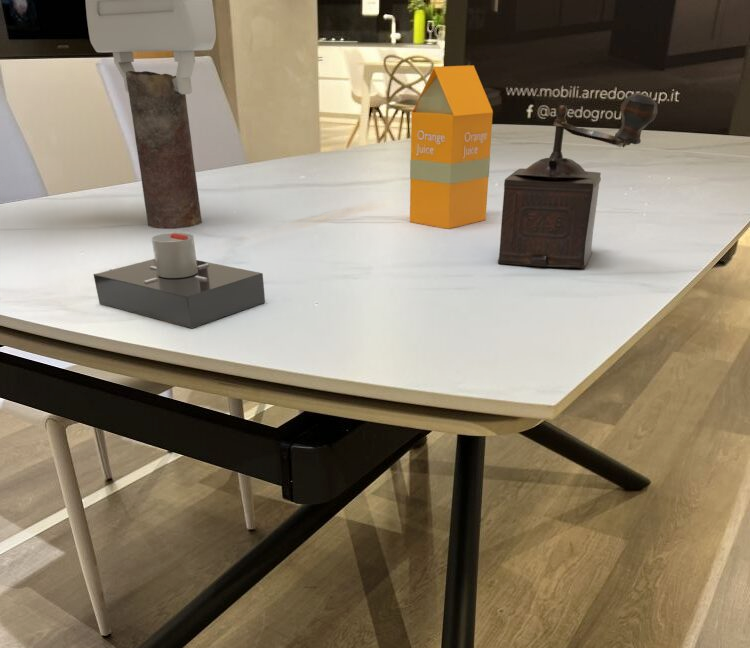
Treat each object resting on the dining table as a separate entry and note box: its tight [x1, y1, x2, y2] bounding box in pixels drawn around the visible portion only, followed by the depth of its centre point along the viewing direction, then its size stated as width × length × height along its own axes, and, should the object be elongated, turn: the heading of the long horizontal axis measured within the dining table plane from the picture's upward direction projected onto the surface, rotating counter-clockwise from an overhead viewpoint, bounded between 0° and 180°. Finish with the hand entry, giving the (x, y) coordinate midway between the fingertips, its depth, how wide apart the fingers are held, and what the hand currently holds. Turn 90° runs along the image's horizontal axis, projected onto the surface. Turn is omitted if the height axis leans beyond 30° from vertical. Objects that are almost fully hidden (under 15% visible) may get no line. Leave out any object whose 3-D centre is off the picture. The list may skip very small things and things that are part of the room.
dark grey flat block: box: [93, 258, 266, 329], centre depth 75 cm, size 14×10×3 cm
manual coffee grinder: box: [497, 92, 659, 269], centre depth 86 cm, size 16×11×18 cm
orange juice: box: [409, 64, 494, 230], centre depth 106 cm, size 8×9×20 cm
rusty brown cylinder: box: [126, 70, 203, 230], centre depth 99 cm, size 8×7×20 cm
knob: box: [151, 232, 198, 278], centre depth 74 cm, size 4×4×4 cm
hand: (158, 93), depth 95 cm, fingers open, 8 cm apart
